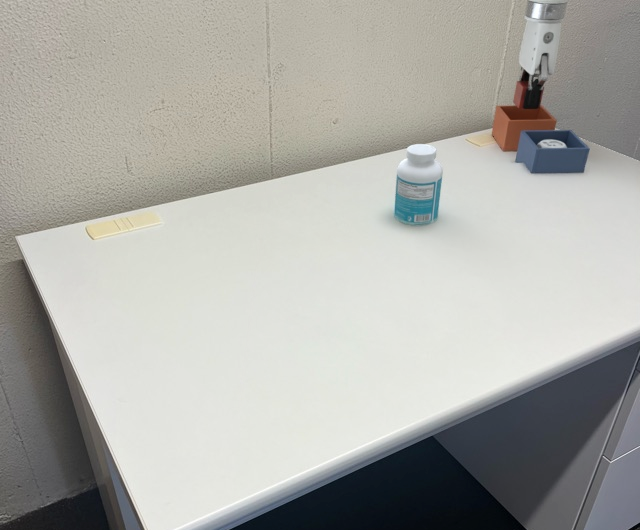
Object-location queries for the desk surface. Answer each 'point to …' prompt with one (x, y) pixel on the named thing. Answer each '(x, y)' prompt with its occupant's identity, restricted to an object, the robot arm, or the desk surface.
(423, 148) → the pill bottle
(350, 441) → the desk surface
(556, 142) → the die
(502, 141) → the terracotta bin
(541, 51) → the robot arm
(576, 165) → the blue bin
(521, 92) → the red block
